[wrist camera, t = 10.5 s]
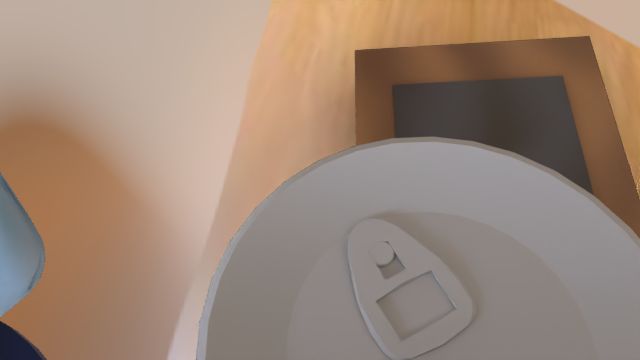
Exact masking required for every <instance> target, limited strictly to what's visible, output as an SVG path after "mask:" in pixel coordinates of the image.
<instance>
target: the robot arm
mask: <svg viewBox="0 0 640 360" xmlns="http://www.w3.org/2000/svg"><path fill="white" fill-rule="evenodd" d="M44 262H45V249H44V245H43V241H42V239H41V236H40V234H39V233H38V231H37V229H36V227H35V226H34V224H33V222H32V221H31V219H30V218H29V216H28V214H27V212H26V211H25V209H24V208H23V206H22V205H21V203H20V202H19V200H18V198H17V197H16V195H15V194H14V192H13V191H12V189H11V188H10V186H9V185H8V183H7V182H6V180H5V179H4V177H3V176H2V174H1V173H0V317H1V316H2V315H4V314H5V313H6V312H7V311H8V310H10V309H11V308H12V307H13V306H15V305H16V304H17V303H18V302H19V301H21V300H22V299H23V298H24V297H25V296H27V295H28V294H29V293H30V292H31V290H32V289H33V288H34V286H35V285H36V284H37V282H38V281H39V279H40V277H41V274H42V271H43V268H44Z"/></svg>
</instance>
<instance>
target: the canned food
mask: <svg viewBox="0 0 640 360" xmlns="http://www.w3.org/2000/svg"><path fill="white" fill-rule="evenodd" d="M196 360H640V239H639V237H638V236H637V235H636V234H635V233H634V231H633V230H632V229H631V228H630V227H629V226H628V225H627V224H625V223H624V222H623V221H622V220H621V219H620V218H619V217H618V216H616V215H615V214H614V213H613V212H612V211H611V210H610V209H609V208H607V207H606V206H605V205H604V204H603V203H602V202H601V201H600V200H598V199H597V198H596V197H595V196H594V195H592V194H590V193H589V192H587V191H586V190H584V189H583V188H581V187H580V186H578V185H576V184H575V183H573V182H572V181H570V180H569V179H567V178H566V177H564V176H563V175H561V174H559V173H558V172H556V171H554V170H552V169H550V168H548V167H546V166H543V165H541V164H539V163H537V162H534V161H532V160H530V159H528V158H525V157H523V156H521V155H519V154H517V153H514V152H510V151H507V150H503V149H500V148H496V147H492V146H489V145H485V144H481V143H478V142H474V141H467V140H458V139H449V138H441V137H410V138H391V139H387V140H382V141H377V142H372V143H368V144H363V145H358V146H354V147H351V148H349V149H346V150H344V151H341V152H339V153H336V154H334V155H331V156H329V157H326V158H324V159H321V160H319V161H317V162H315V163H313V164H312V165H310V166H309V167H307V168H305V169H304V170H302V171H301V172H299V173H297V174H296V175H294V176H293V177H291V178H289V179H288V180H286V181H285V182H283V183H282V184H281V185H280V186H279V187H278V188H277V189H276V190H275V191H274V192H272V193H271V194H270V195H269V196H268V197H267V198H266V199H265V200H264V201H263V202H261V203H260V204H259V205H258V206H257V207H256V208H255V209H254V210H253V212H252V213H251V214H250V216H249V217H248V218H247V220H246V221H245V222H244V224H243V225H242V226H241V228H240V229H239V230H238V232H237V233H236V234H235V235H234V237H233V238H232V239H231V241H230V243H229V245H228V247H227V249H226V251H225V253H224V255H223V257H222V259H221V261H220V263H219V265H218V267H217V269H216V271H215V273H214V275H213V277H212V279H211V283H210V287H209V290H208V294H207V297H206V301H205V304H204V308H203V311H202V315H201V318H200V322H199V333H198V344H197V355H196Z"/></svg>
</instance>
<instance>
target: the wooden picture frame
mask: <svg viewBox="0 0 640 360" xmlns="http://www.w3.org/2000/svg"><path fill="white" fill-rule="evenodd" d="M355 117H356V146H358V145H363V144H368V143H372V142H377V141H382V140H387V139H391V138H410V137H441V138H449V139H458V140H467V141H474V142H478V143H481V144H485V145H489V146H492V147H496V148H500V149H503V150H507V151H510V152H514V153H517V154H519V155H521V156H523V157H525V158H528V159H530V160H532V161H534V162H537V163H539V164H541V165H543V166H546V167H548V168H550V169H552V170H554V171H556V172H558V173H559V174H561V175H563V176H564V177H566V178H567V179H569V180H570V181H572V182H573V183H575V184H576V185H578V186H580V187H581V188H583V189H584V190H586V191H587V192H589V193H590V194H592V195H594V196H595V197H596V198H597V199H598V200H600V201H601V202H602V203H603V204H604V205H605V206H606V207H607V208H609V209H610V210H611V211H612V212H613V213H614V214H615V215H616V216H618V217H619V218H620V219H621V220H622V221H623V222H624V223H625V224H627V225H628V226H629V227H630V228H631V229H632V230H633V231H634V233H635V234H636V235H637V236H638V237H639V239H640V199H639V196H638V193H637V189H636V186H635V183H634V180H633V177H632V173H631V170H630V167H629V164H628V160H627V157H626V154H625V151H624V147H623V144H622V141H621V138H620V134H619V131H618V128H617V125H616V121H615V118H614V115H613V112H612V108H611V105H610V102H609V99H608V95H607V92H606V89H605V86H604V83H603V79H602V76H601V73H600V70H599V66H598V63H597V60H596V57H595V53H594V50H593V47H592V44H591V40H590V37H589V36H583V37H567V38H550V39H533V40H516V41H499V42H482V43H466V44H449V45H432V46H415V47H398V48H381V49H365V50H355Z"/></svg>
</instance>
